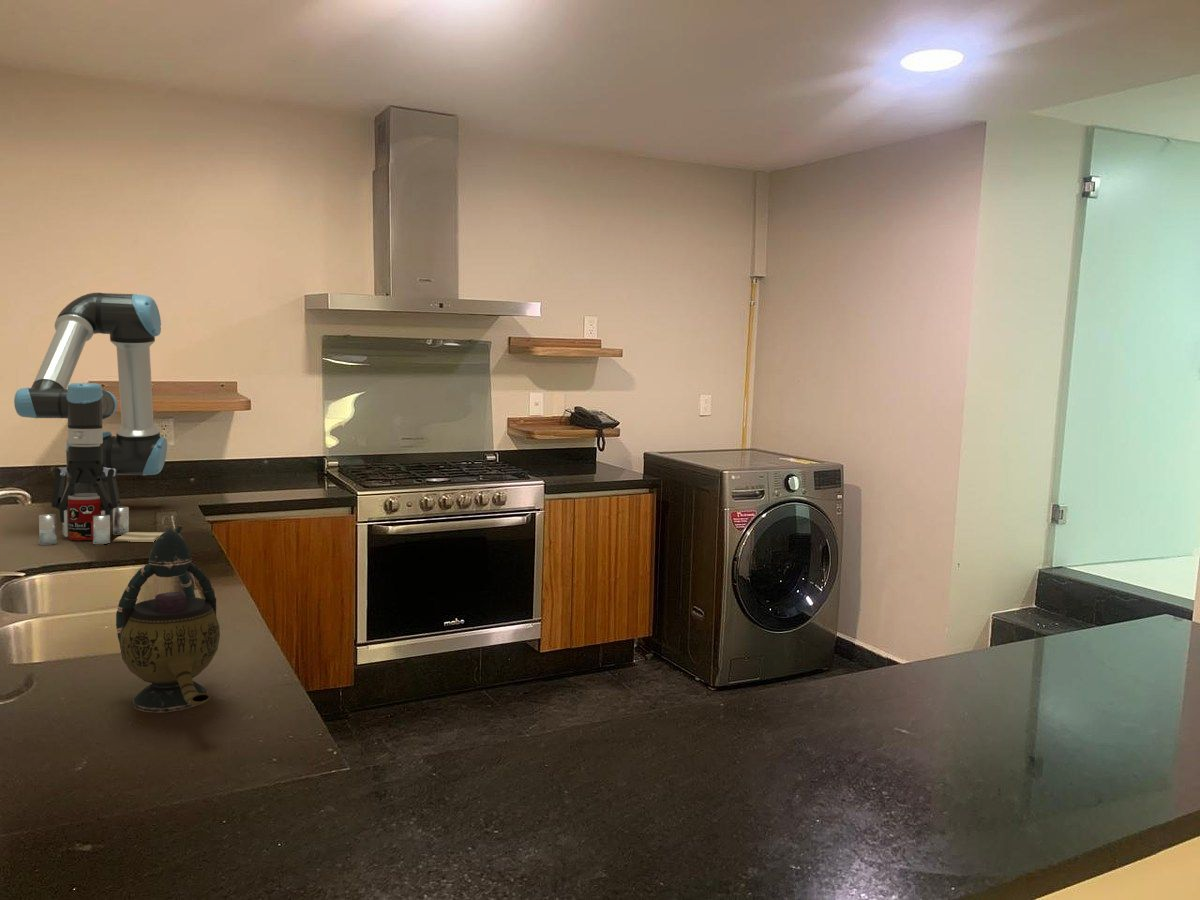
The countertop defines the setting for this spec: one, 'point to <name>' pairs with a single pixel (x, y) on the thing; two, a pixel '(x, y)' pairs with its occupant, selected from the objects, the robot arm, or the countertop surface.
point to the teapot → (168, 630)
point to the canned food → (82, 515)
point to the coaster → (139, 536)
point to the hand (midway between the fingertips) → (86, 535)
